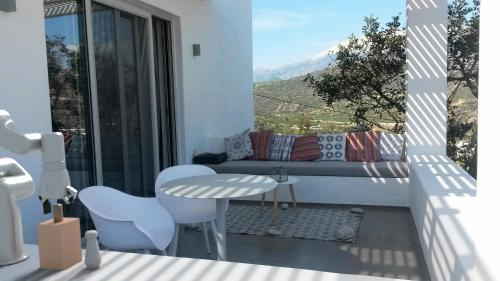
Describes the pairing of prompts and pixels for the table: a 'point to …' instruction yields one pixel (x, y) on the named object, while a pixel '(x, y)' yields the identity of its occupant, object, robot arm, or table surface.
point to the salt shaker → (92, 250)
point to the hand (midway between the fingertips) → (58, 213)
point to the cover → (59, 241)
